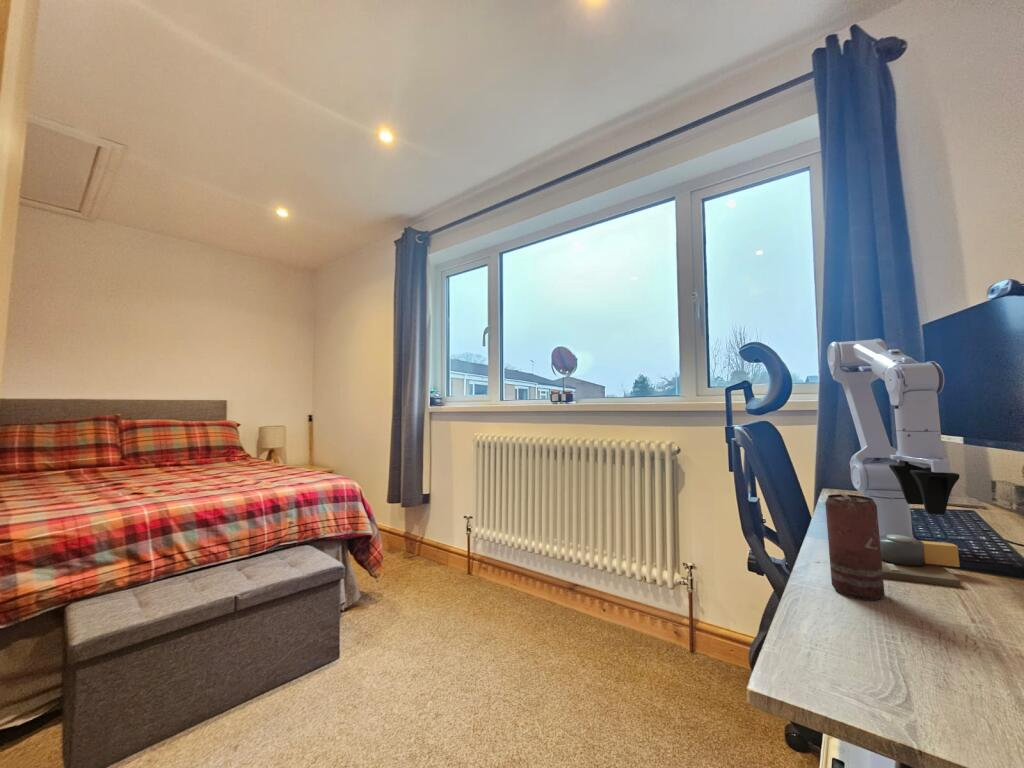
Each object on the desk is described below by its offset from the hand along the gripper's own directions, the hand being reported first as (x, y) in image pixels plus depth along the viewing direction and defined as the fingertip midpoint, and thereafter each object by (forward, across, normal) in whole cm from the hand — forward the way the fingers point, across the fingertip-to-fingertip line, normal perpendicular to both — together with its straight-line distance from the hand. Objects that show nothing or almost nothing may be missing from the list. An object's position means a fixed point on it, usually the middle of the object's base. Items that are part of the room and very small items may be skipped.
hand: (924, 508), depth 74 cm
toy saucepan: (+8, +4, -3) cm, 9 cm away
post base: (+9, +4, -5) cm, 11 cm away
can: (+9, +18, -15) cm, 25 cm away
